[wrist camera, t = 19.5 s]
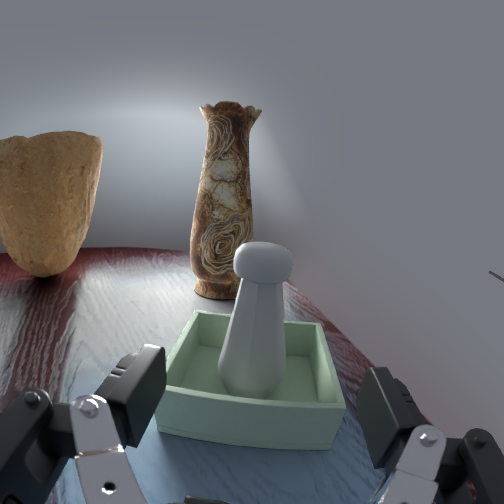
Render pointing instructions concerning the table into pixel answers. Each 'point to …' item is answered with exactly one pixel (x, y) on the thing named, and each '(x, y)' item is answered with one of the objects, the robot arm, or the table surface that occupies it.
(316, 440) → the open box
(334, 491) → the table surface
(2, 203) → the tan rough tapered pot
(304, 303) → the table surface
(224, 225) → the vase
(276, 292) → the salt shaker
